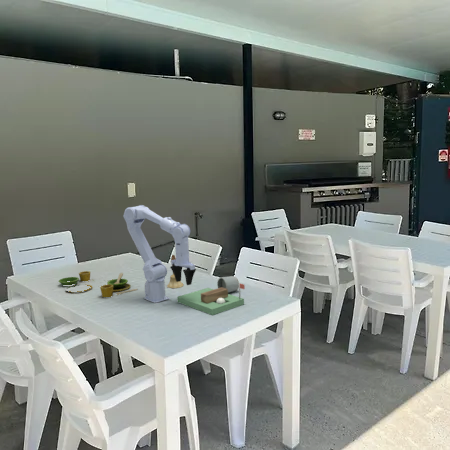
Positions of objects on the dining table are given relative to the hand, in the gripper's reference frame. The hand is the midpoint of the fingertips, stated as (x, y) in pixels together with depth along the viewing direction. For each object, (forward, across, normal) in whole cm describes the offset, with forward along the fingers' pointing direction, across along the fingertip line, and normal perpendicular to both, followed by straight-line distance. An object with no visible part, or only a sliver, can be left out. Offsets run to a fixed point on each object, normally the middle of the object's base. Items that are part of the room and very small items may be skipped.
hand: (183, 282), depth 193 cm
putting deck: (+9, +8, +8) cm, 15 cm away
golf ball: (+7, +15, +8) cm, 19 cm away
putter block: (+7, +11, +8) cm, 15 cm away
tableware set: (+10, -53, -16) cm, 57 cm away
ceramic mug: (+10, +1, +24) cm, 26 cm away
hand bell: (+10, -25, +13) cm, 30 cm away
